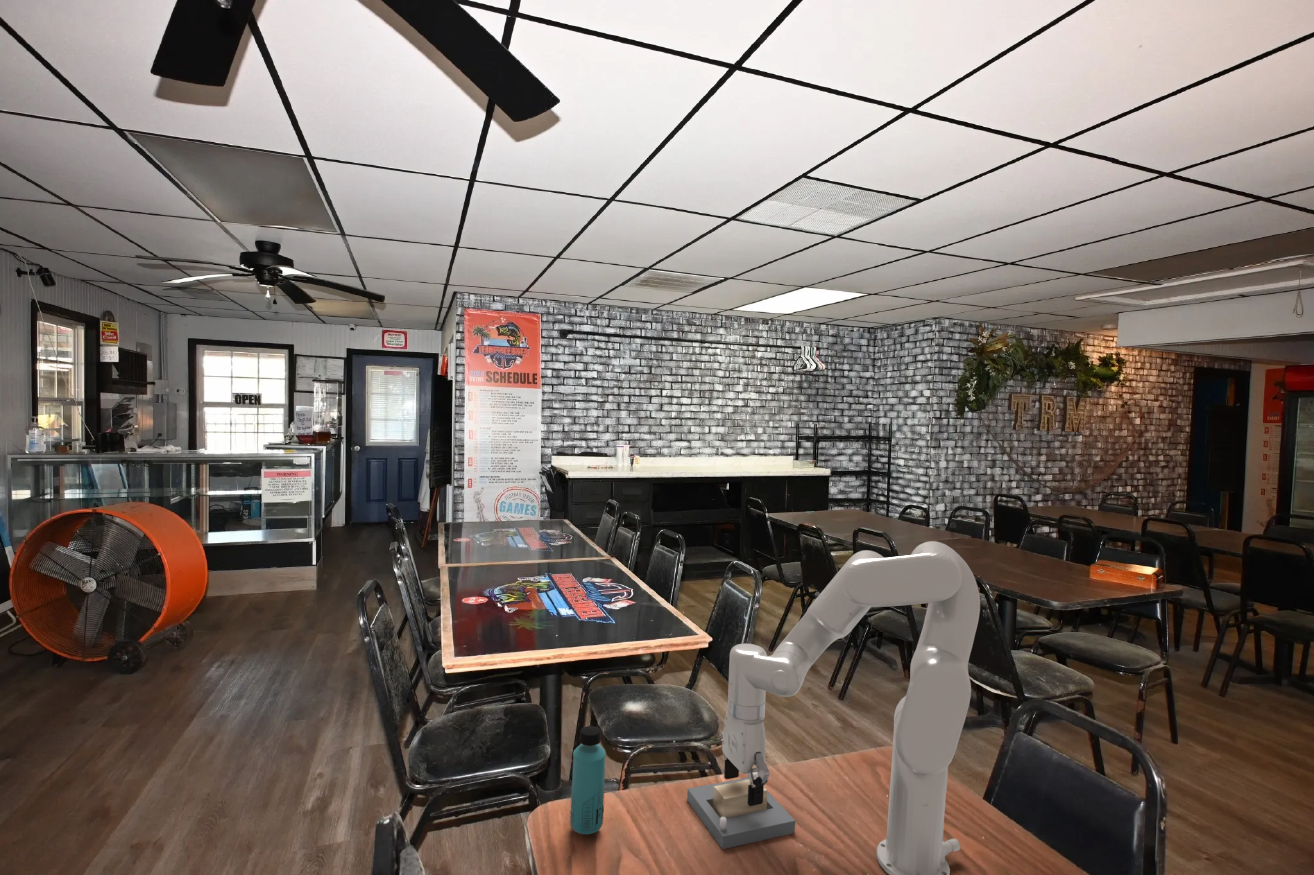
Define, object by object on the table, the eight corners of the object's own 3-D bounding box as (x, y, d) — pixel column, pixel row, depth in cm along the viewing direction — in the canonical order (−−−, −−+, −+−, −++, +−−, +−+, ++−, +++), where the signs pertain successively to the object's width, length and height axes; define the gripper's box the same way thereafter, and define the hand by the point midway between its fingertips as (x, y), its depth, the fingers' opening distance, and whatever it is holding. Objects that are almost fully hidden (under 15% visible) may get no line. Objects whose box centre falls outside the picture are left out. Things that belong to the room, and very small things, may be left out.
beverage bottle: (597, 845, 120) (602, 740, 119) (563, 839, 121) (568, 735, 121) (607, 824, 126) (612, 724, 126) (574, 818, 128) (579, 719, 127)
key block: (712, 815, 131) (713, 786, 131) (754, 805, 135) (756, 778, 135) (722, 828, 127) (724, 799, 127) (765, 818, 131) (767, 790, 131)
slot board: (753, 787, 142) (754, 767, 141) (794, 833, 127) (795, 810, 127) (687, 800, 136) (688, 779, 136) (722, 849, 121) (723, 826, 121)
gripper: (710, 692, 137) (707, 771, 137) (751, 730, 121) (748, 819, 121) (741, 688, 140) (738, 765, 140) (785, 724, 124) (782, 812, 124)
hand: (742, 790), depth 131 cm, fingers open, 9 cm apart
